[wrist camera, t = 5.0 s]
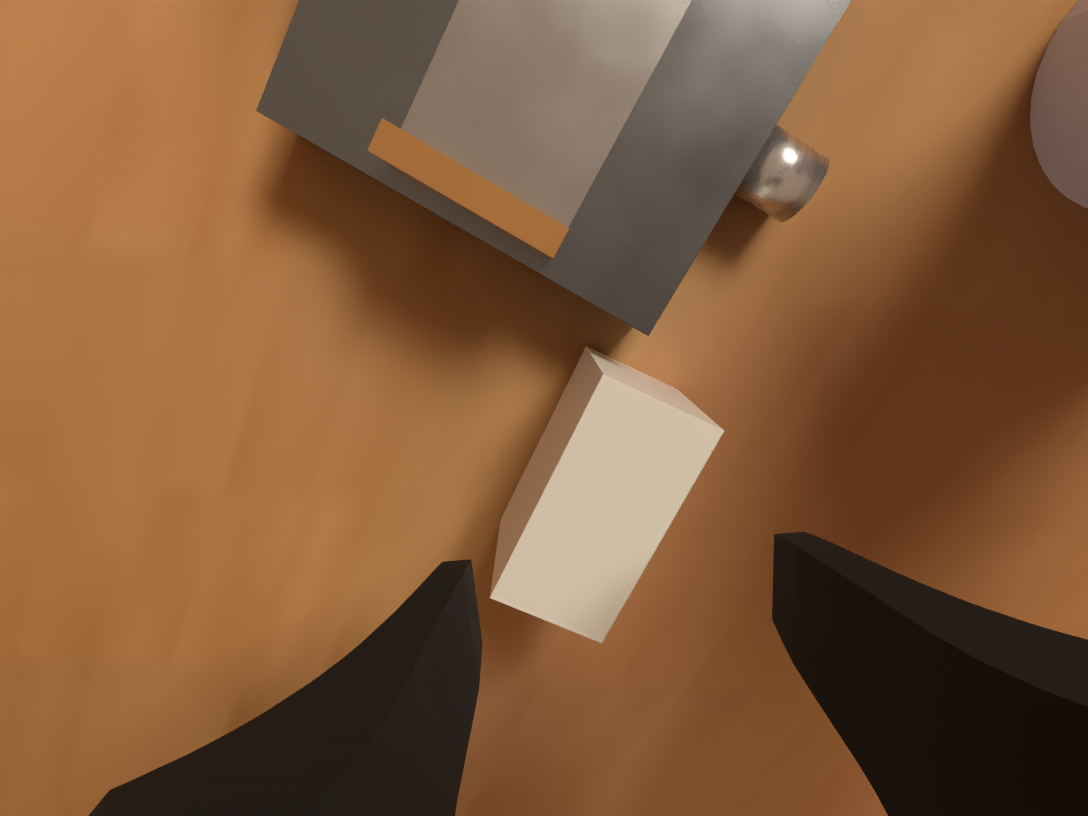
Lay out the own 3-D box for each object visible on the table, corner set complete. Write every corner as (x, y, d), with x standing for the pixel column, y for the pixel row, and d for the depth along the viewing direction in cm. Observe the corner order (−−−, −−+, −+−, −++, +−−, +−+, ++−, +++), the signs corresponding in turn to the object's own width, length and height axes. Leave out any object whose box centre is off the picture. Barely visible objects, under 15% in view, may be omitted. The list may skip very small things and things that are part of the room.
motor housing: (899, 11, 16) (1025, -77, 12) (683, 355, 19) (726, 381, 14) (444, -316, 14) (407, -558, 10) (272, 118, 17) (183, 69, 12)
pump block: (676, 388, 19) (724, 430, 14) (586, 554, 21) (602, 642, 16) (585, 345, 19) (603, 373, 14) (500, 518, 20) (489, 598, 15)
